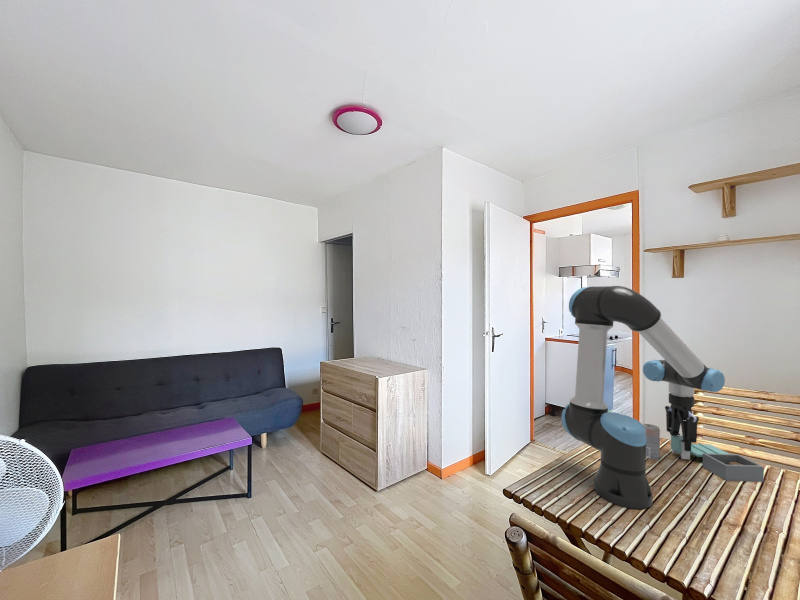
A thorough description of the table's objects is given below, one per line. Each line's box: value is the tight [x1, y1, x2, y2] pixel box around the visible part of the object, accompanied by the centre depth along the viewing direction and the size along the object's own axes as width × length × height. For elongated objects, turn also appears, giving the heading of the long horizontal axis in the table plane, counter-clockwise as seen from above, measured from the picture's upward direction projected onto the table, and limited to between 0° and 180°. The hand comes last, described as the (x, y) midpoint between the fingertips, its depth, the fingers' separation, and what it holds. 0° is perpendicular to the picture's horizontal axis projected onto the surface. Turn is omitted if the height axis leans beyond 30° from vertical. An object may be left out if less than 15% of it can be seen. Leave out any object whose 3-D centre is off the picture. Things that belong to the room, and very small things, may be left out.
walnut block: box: [728, 462, 742, 465], centre depth 118 cm, size 3×3×3 cm
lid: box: [670, 435, 729, 458], centre depth 129 cm, size 17×9×6 cm, turn 87°
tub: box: [702, 453, 765, 483], centre depth 117 cm, size 12×9×6 cm
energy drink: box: [642, 423, 661, 460], centre depth 129 cm, size 5×5×12 cm
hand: (680, 455), depth 129 cm, fingers closed on lid, 4 cm apart
